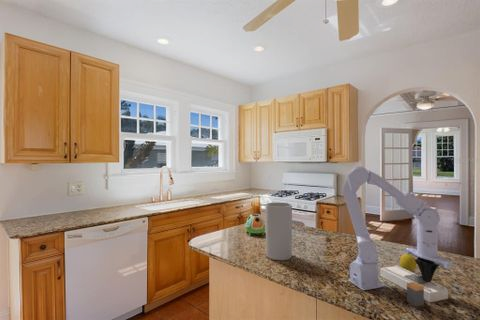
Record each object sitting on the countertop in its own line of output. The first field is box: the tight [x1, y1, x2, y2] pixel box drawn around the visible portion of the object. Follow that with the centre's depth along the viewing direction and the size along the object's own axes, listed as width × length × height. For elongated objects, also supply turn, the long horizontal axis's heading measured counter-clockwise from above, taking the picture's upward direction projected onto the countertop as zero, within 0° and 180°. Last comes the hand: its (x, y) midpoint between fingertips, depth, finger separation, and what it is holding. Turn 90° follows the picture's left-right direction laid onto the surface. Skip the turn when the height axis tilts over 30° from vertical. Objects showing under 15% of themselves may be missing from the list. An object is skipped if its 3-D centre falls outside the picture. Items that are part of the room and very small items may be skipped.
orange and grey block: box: [406, 282, 425, 307], centre depth 83 cm, size 3×3×6 cm
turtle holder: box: [245, 213, 266, 237], centre depth 164 cm, size 12×18×12 cm
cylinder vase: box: [265, 201, 293, 261], centre depth 124 cm, size 12×12×25 cm
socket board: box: [379, 264, 449, 303], centre depth 94 cm, size 20×8×4 cm, turn 16°
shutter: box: [404, 273, 426, 284], centre depth 92 cm, size 5×5×3 cm
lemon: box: [399, 253, 417, 272], centre depth 105 cm, size 6×6×8 cm
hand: (427, 281), depth 88 cm, fingers closed
